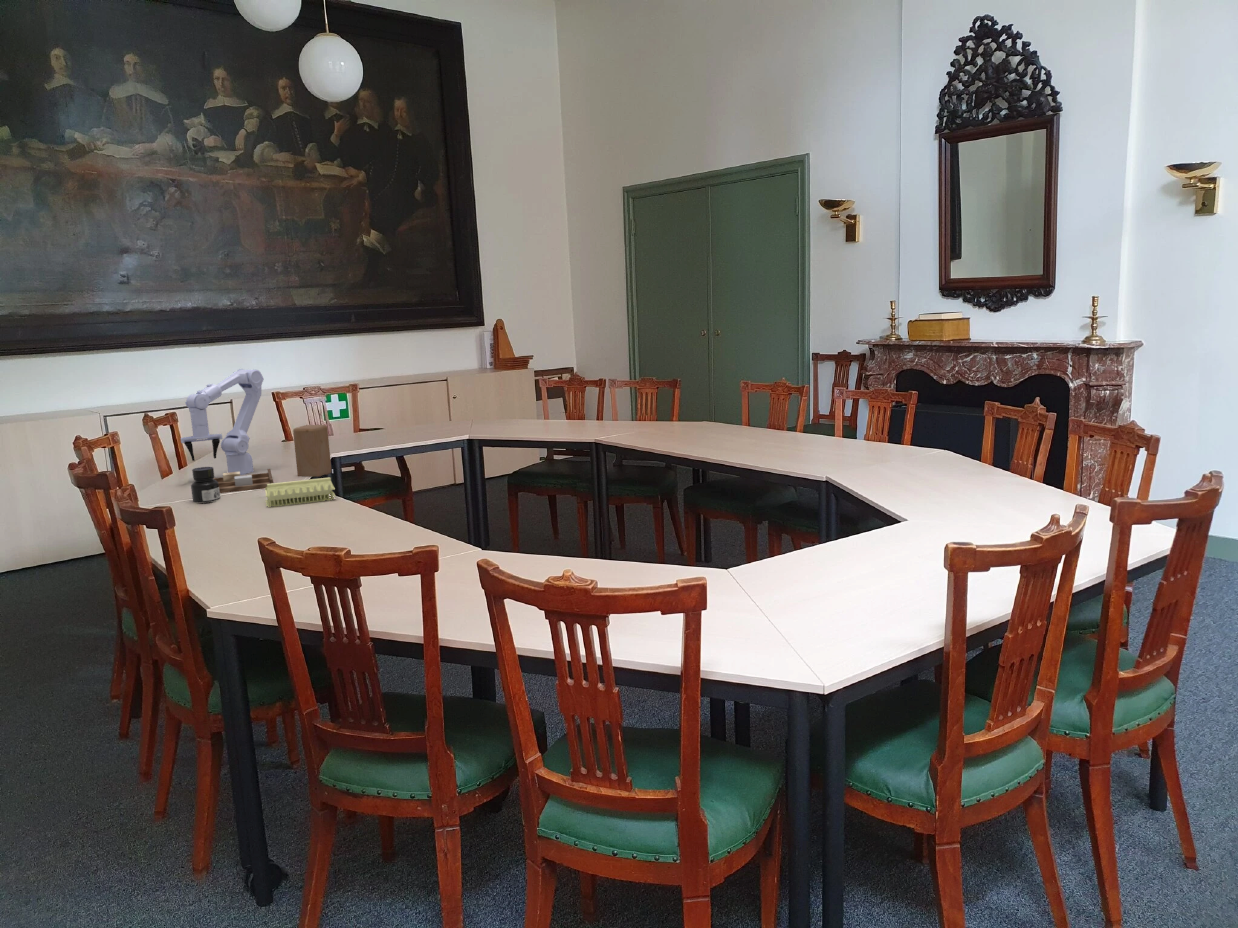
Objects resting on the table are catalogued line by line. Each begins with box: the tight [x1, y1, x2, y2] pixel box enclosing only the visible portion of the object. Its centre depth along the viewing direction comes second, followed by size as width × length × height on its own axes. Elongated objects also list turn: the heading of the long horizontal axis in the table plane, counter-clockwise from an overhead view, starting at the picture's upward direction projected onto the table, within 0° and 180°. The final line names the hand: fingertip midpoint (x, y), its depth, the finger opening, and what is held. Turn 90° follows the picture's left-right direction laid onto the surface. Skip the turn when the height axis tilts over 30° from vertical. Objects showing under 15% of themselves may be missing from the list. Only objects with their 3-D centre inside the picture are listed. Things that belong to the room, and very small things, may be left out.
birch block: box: [222, 472, 241, 482], centre depth 334 cm, size 13×5×5 cm, turn 114°
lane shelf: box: [213, 468, 274, 494], centre depth 333 cm, size 24×24×4 cm
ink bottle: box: [190, 466, 221, 505], centre depth 309 cm, size 10×9×12 cm
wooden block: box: [292, 424, 332, 477], centre depth 348 cm, size 10×10×20 cm
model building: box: [264, 477, 337, 508], centre depth 308 cm, size 25×14×7 cm, turn 113°
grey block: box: [234, 474, 253, 487], centre depth 328 cm, size 6×5×4 cm
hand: (204, 459), depth 341 cm, fingers open, 7 cm apart
